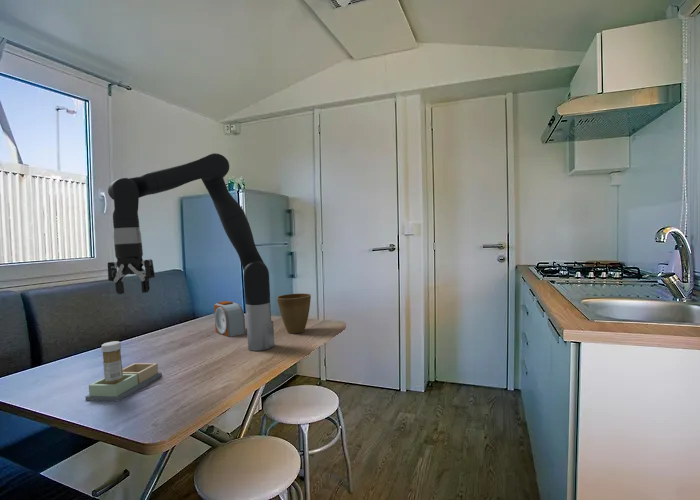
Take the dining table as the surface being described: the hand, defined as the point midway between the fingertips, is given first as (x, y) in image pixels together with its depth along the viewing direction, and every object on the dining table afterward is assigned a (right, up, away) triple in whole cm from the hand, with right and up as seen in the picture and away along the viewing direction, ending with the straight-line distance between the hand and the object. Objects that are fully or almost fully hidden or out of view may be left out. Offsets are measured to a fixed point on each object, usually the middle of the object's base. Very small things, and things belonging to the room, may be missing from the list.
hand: (133, 293), depth 118 cm
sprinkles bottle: (+2, -26, -13) cm, 29 cm away
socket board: (+3, -27, -9) cm, 28 cm away
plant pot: (+45, -23, +46) cm, 69 cm away
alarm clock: (+14, -24, +50) cm, 57 cm away
